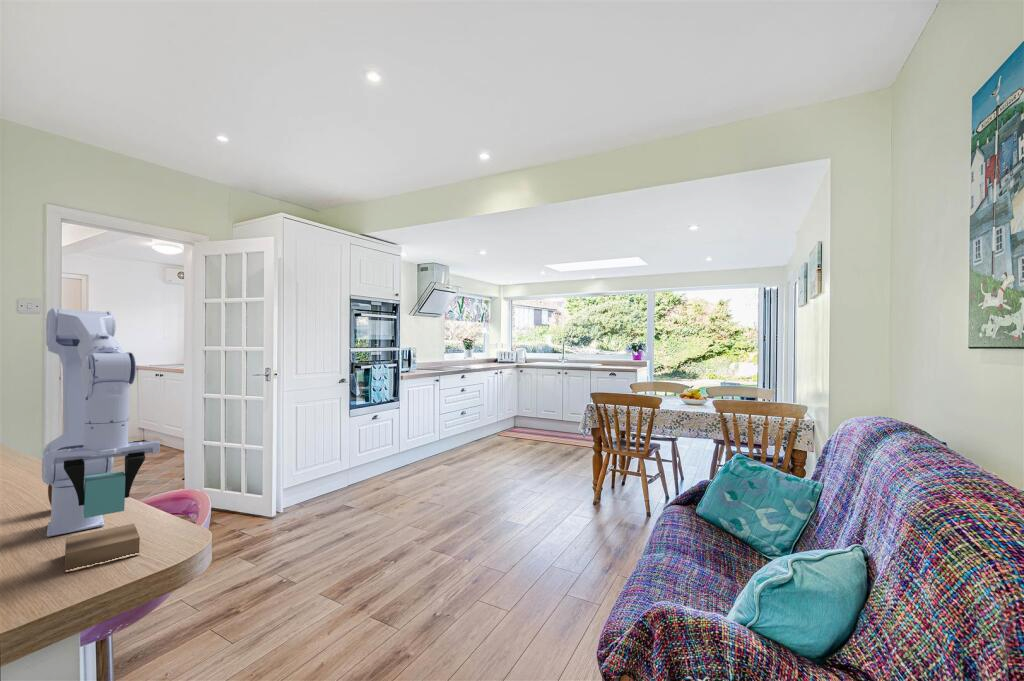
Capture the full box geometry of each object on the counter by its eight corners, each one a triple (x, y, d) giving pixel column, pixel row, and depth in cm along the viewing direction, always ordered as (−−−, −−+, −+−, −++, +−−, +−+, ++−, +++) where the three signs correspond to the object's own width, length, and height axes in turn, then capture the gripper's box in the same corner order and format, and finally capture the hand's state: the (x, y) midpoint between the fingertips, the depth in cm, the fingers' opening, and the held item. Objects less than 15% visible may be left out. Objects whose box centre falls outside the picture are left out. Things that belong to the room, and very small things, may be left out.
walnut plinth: (65, 555, 76) (65, 537, 76) (133, 539, 82) (134, 523, 82) (64, 573, 69) (65, 553, 69) (139, 555, 76) (139, 537, 76)
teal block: (83, 510, 76) (84, 476, 76) (121, 504, 80) (123, 470, 80) (84, 518, 73) (85, 481, 73) (124, 510, 76) (125, 475, 76)
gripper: (45, 428, 69) (42, 516, 68) (163, 419, 79) (160, 496, 78) (47, 424, 74) (43, 506, 73) (157, 416, 84) (155, 487, 83)
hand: (104, 500), depth 76 cm, fingers closed on teal block, 5 cm apart
